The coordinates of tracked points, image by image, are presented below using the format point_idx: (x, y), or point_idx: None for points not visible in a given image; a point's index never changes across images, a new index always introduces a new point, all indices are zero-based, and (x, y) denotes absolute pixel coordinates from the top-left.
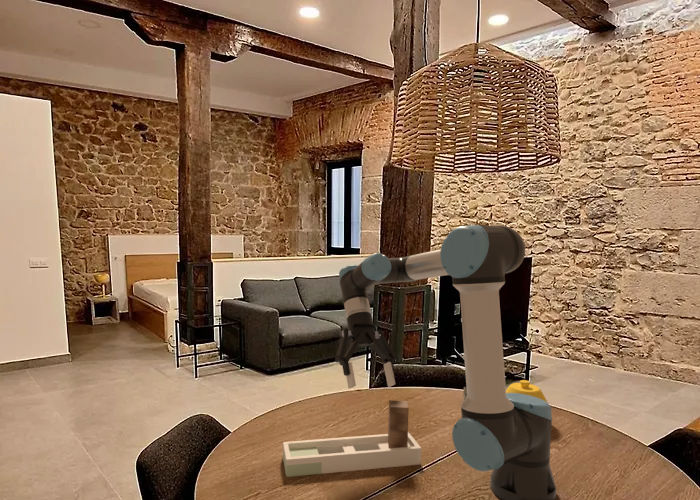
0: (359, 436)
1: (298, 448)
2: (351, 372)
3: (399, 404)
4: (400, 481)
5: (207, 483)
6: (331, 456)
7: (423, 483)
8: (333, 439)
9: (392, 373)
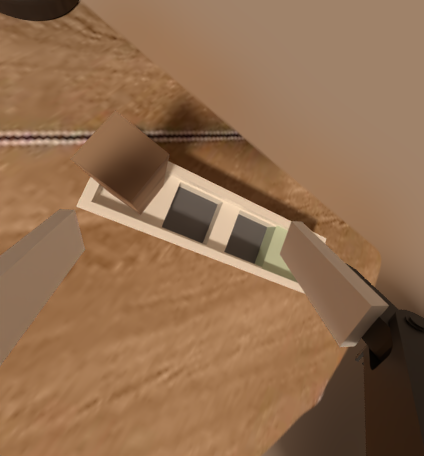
0: (190, 247)
1: (286, 277)
2: (337, 256)
3: (123, 151)
4: (187, 133)
5: (373, 272)
6: (270, 211)
7: (160, 105)
8: (239, 262)
9: (26, 241)
